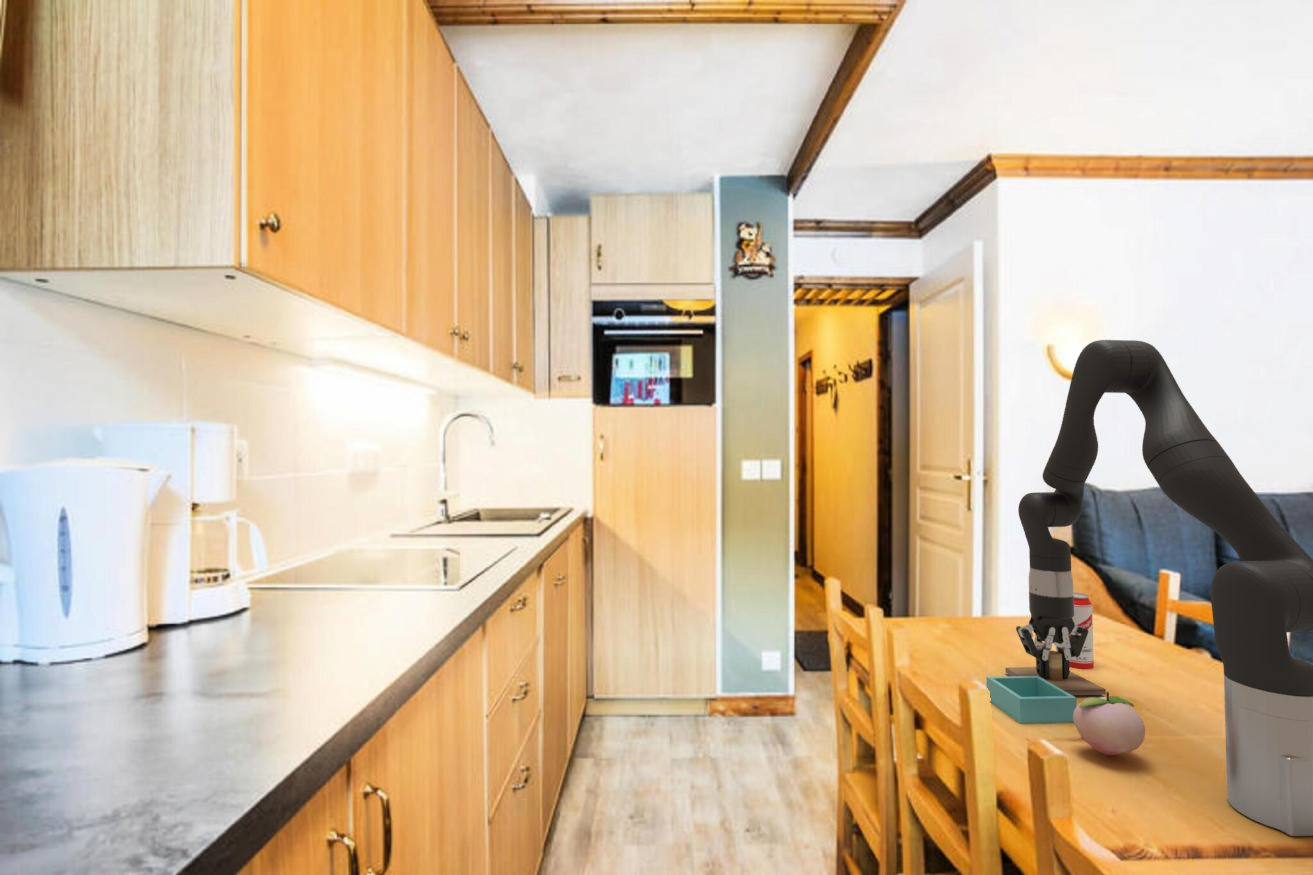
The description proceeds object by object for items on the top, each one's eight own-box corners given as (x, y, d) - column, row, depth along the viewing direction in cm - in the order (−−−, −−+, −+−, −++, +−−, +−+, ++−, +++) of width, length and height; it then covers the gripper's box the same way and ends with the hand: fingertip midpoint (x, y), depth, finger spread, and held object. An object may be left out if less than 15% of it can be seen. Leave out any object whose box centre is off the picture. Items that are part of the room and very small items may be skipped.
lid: (1105, 694, 113) (1104, 662, 113) (1044, 695, 113) (1043, 663, 113) (1061, 671, 125) (1060, 642, 125) (1005, 672, 125) (1004, 643, 125)
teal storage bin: (1077, 726, 103) (1076, 697, 103) (1020, 727, 102) (1019, 698, 103) (1038, 702, 113) (1038, 675, 113) (987, 703, 112) (986, 676, 113)
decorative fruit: (1116, 775, 87) (1114, 707, 88) (1063, 748, 95) (1062, 686, 95) (1161, 765, 90) (1159, 699, 90) (1107, 740, 98) (1105, 679, 98)
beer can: (1099, 673, 126) (1098, 598, 127) (1067, 671, 128) (1065, 597, 128) (1085, 663, 133) (1083, 591, 133) (1053, 661, 134) (1052, 590, 134)
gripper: (1028, 596, 115) (1030, 685, 115) (1099, 595, 116) (1102, 684, 115) (1005, 587, 123) (1007, 671, 122) (1071, 586, 123) (1073, 669, 123)
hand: (1053, 676), depth 119 cm, fingers closed on lid, 3 cm apart
